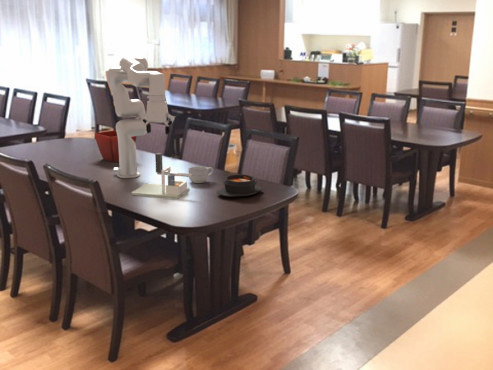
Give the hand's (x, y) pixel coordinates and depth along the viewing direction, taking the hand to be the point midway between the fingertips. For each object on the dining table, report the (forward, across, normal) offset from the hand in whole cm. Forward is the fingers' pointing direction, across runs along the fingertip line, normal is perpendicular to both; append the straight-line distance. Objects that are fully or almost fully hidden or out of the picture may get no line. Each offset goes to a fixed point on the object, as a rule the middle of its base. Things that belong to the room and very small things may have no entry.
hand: (158, 133), depth 280 cm
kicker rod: (+28, +8, 0) cm, 29 cm away
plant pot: (+31, -54, +60) cm, 86 cm away
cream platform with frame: (+30, +1, 0) cm, 30 cm away
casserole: (+30, +40, +9) cm, 51 cm away
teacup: (+30, +14, +25) cm, 42 cm away
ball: (+27, +10, 0) cm, 29 cm away
